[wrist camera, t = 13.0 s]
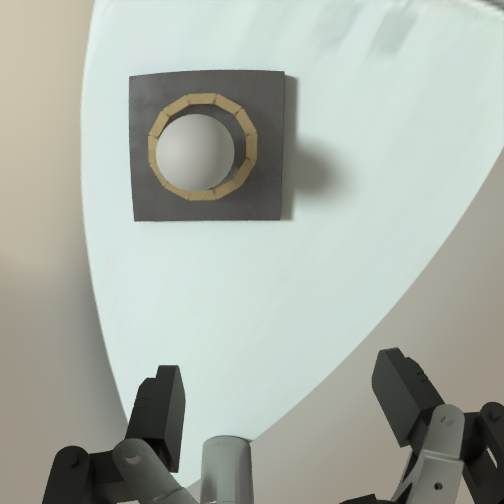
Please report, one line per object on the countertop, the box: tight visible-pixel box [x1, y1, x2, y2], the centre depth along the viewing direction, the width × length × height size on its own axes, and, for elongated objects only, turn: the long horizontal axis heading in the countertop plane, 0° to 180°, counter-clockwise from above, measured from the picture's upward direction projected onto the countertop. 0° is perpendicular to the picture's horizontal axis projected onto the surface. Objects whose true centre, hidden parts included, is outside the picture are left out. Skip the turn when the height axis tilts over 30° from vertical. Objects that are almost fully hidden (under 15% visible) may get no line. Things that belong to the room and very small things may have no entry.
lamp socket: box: [129, 70, 285, 222], centre depth 30 cm, size 16×16×4 cm
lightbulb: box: [156, 114, 234, 191], centre depth 26 cm, size 6×6×11 cm
